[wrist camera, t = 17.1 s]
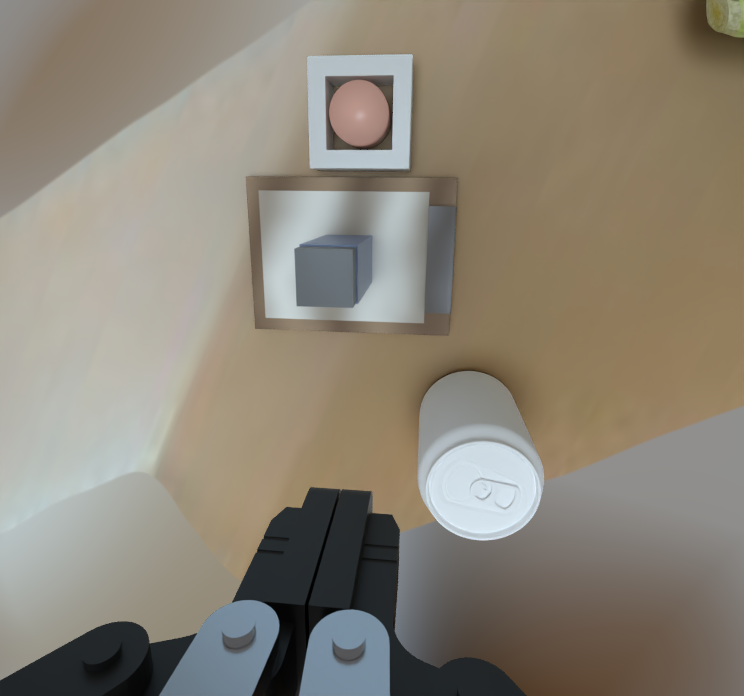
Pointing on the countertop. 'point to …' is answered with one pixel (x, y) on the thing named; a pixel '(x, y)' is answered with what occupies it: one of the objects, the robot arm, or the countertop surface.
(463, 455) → the beverage can
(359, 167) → the button housing
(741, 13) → the lettuce
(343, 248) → the blue grey block
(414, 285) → the clipboard
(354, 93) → the button
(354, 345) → the countertop surface
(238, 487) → the countertop surface
